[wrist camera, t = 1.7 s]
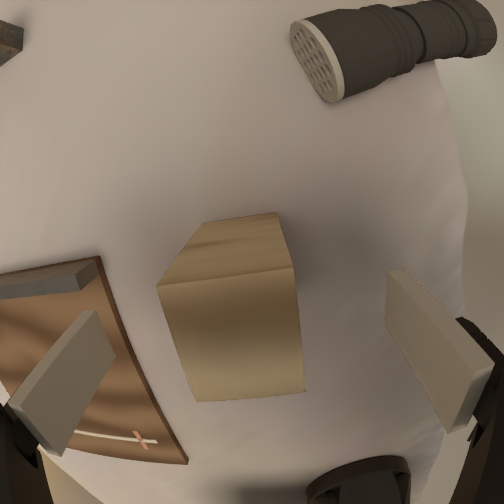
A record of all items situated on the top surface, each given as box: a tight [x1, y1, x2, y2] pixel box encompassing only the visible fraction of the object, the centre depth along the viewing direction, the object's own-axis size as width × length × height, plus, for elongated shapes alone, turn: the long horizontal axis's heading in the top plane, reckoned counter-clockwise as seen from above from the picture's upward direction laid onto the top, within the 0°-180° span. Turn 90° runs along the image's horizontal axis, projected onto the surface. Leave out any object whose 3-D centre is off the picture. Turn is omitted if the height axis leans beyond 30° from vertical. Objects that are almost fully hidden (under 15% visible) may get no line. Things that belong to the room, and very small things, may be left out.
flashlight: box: [290, 0, 497, 103], centre depth 13 cm, size 15×5×5 cm, turn 117°
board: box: [0, 256, 189, 465], centre depth 24 cm, size 26×24×4 cm
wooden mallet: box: [156, 212, 306, 402], centre depth 17 cm, size 13×5×10 cm, turn 9°
